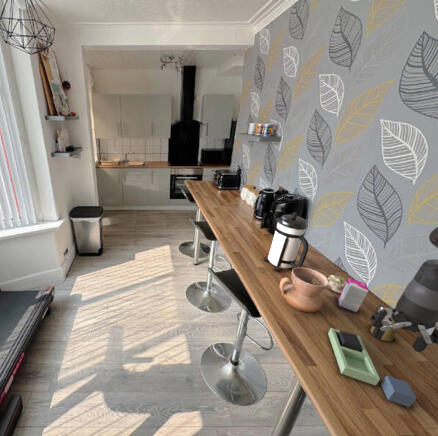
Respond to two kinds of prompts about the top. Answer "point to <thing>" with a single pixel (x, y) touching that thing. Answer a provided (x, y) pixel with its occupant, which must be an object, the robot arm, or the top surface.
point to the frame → (353, 360)
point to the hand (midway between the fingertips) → (395, 343)
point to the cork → (387, 331)
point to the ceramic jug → (304, 289)
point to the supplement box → (353, 295)
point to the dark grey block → (349, 340)
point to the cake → (336, 283)
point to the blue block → (398, 391)
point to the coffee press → (288, 242)
